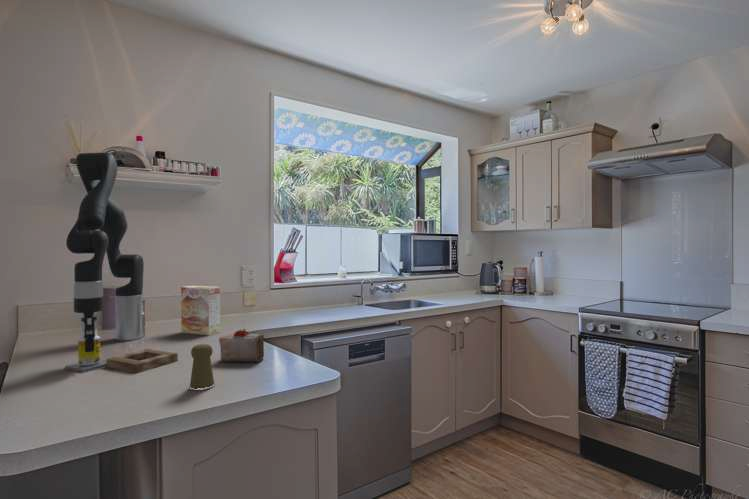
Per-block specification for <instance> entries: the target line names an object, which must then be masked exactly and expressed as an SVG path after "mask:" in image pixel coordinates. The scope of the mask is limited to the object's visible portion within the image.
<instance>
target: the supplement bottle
mask: <svg viewBox="0 0 749 499" xmlns="http://www.w3.org/2000/svg"><path fill="white" fill-rule="evenodd" d="M87 334H92V333H87ZM87 334H86V335H87ZM80 336H81V337H79V338H78V339H77V340H78V342H77V344H78V345H77V348H78V349H77V350H78V356H77V357H78V363H79V365H81V366H89V365H94V364H97V363H99V362H100V360H101V337H100V335H98V330H97V329H96V332H95V338H94V351H93V352H85V339H84V336H85V334H84V333H83V332H82V331H81V335H80Z"/></svg>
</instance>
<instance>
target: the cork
mask: <svg viewBox="0 0 749 499" xmlns="http://www.w3.org/2000/svg"><path fill="white" fill-rule="evenodd" d="M213 353H214V352H213V347H212V345H210V344H208V343H206V344H204V343H203V344H202V343H201V344H196V345H194V346H193V347H192V348H191V350H190V354H191V357H192V358H193V360H192V368H191V375H190V383H189V388H190V387H191V388H194V389H197V388H205V387H210V386H212V385H213V384H214V385H215V381H214V380H215V379H214V373H213V366H212V360H211V359H212V358H211V357H212V355H213Z"/></svg>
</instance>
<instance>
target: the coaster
mask: <svg viewBox="0 0 749 499" xmlns="http://www.w3.org/2000/svg"><path fill="white" fill-rule="evenodd" d="M105 367H106V359H105V360H104V359H100V362H99V363H97V364H94V365H89V366H81V365H79V362H75V363H72V364H67V365H65V366H64V369H66V370H70V371H74V372H79V373H87V372H91V371H93V370H97V369H101V368H105ZM106 368H107V367H106ZM90 370H91V371H90ZM86 371H87V372H86Z"/></svg>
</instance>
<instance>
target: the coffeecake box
mask: <svg viewBox="0 0 749 499" xmlns="http://www.w3.org/2000/svg"><path fill="white" fill-rule="evenodd" d="M180 291H181V292H180V293H181V294H180V298H181V300H180V301H181V302H180V305H181V306H180V307H181V308H180V309H181V311H180V313H181V314H180V315H181V316H180V317H181V320H180V321H181V333H182V334H190V335H191V334H192V335H202V336H212V335H215V334H220V333H221V292H220V291H221V286H210V285H207V286H206V285H186V286H185V285H184V286H180Z"/></svg>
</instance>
